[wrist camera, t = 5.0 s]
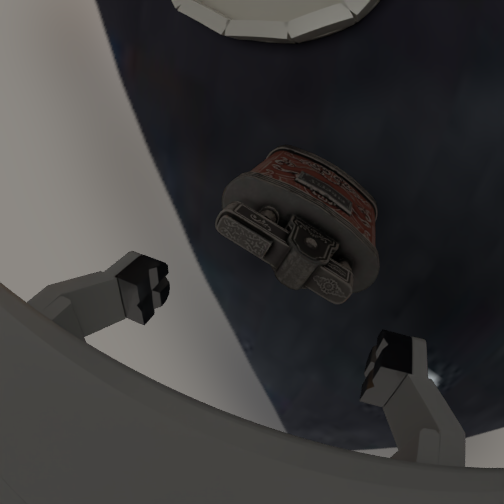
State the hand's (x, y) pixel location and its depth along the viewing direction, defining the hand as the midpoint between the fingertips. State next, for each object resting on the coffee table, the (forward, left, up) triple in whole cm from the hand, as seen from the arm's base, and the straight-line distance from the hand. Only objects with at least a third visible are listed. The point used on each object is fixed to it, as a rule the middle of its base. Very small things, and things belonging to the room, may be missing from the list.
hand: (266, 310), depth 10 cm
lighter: (0, 0, -13) cm, 13 cm away
